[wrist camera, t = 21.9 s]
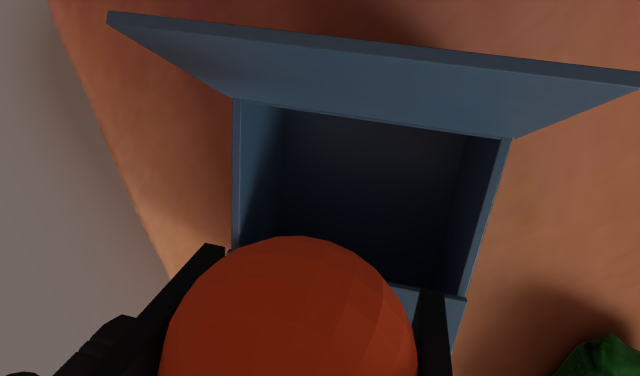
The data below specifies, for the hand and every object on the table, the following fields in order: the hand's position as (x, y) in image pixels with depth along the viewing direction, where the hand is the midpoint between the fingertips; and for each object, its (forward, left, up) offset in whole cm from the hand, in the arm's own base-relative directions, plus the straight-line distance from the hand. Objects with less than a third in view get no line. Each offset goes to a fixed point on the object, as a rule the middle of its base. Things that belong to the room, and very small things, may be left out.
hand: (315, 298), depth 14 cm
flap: (-7, 0, -4) cm, 7 cm away
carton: (+4, 0, -18) cm, 19 cm away
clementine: (0, 0, 0) cm, 1 cm away
